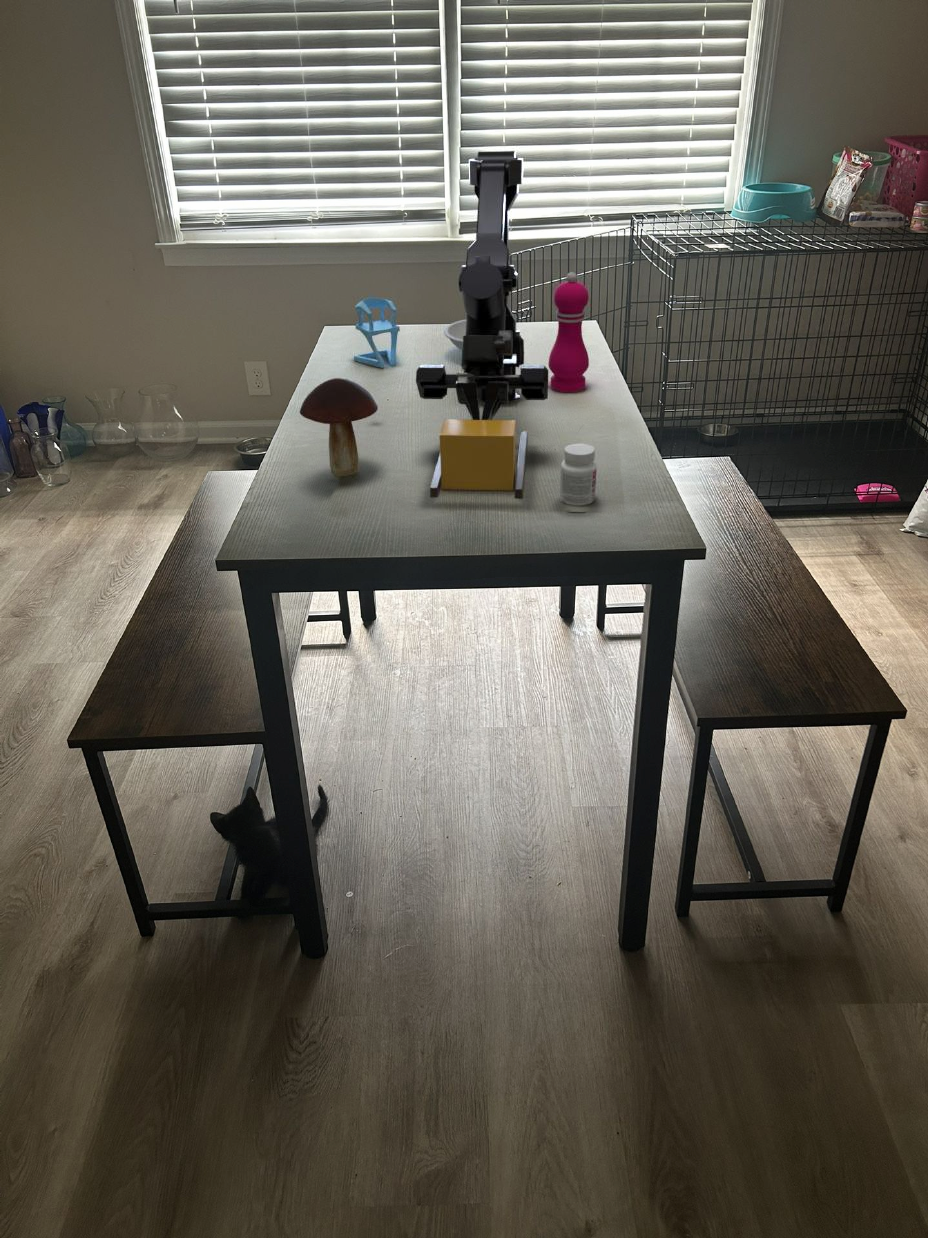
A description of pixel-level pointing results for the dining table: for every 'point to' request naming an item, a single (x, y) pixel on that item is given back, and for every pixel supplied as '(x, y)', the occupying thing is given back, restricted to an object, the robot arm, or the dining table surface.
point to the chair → (377, 331)
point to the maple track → (519, 477)
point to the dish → (456, 333)
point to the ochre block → (478, 454)
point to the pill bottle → (578, 475)
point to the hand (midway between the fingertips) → (480, 437)
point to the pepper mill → (569, 337)
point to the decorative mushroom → (340, 419)
